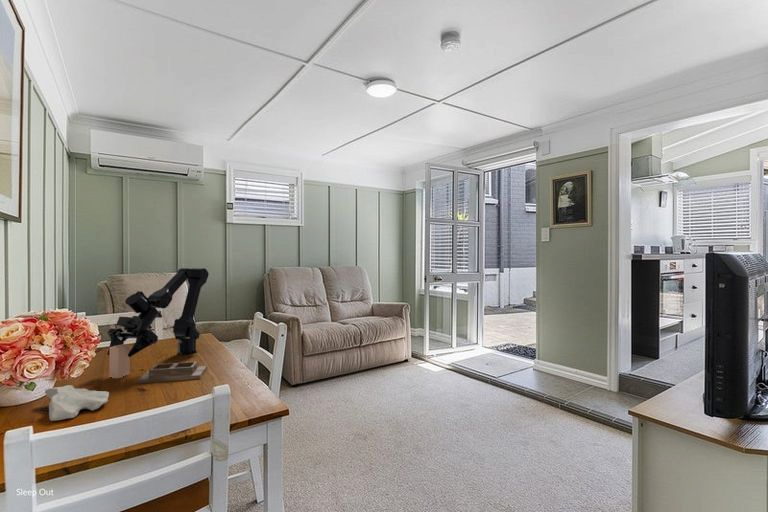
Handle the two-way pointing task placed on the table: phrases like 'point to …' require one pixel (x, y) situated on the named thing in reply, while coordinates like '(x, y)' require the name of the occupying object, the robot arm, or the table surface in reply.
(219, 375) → the table surface
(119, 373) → the clay block
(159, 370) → the rack
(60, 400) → the rock
